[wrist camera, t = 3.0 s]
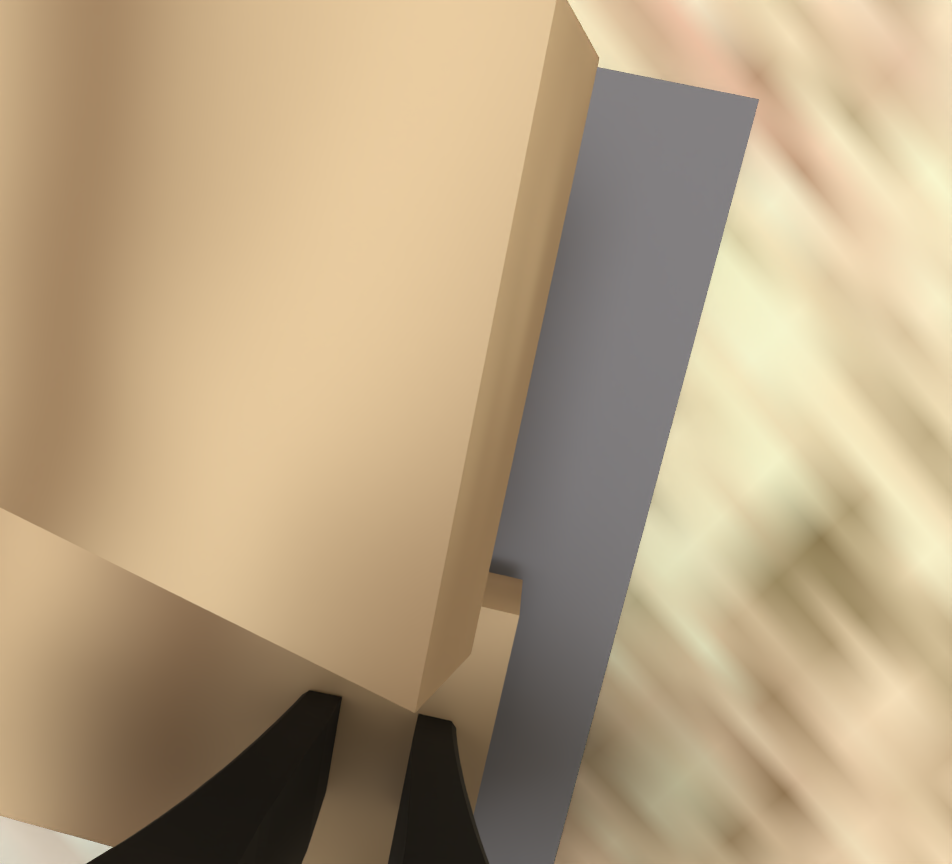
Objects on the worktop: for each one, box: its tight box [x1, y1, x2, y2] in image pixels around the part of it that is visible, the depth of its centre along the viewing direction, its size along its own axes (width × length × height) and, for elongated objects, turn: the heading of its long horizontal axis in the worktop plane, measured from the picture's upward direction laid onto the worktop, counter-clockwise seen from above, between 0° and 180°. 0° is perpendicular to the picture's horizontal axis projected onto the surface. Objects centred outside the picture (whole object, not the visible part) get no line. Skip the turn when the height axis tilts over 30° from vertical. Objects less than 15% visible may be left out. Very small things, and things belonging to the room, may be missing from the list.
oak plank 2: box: [0, 508, 523, 864], centre depth 12 cm, size 13×7×1 cm, turn 79°
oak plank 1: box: [0, 0, 599, 713], centre depth 9 cm, size 13×7×1 cm, turn 79°
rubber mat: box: [474, 67, 759, 864], centre depth 13 cm, size 18×24×1 cm
